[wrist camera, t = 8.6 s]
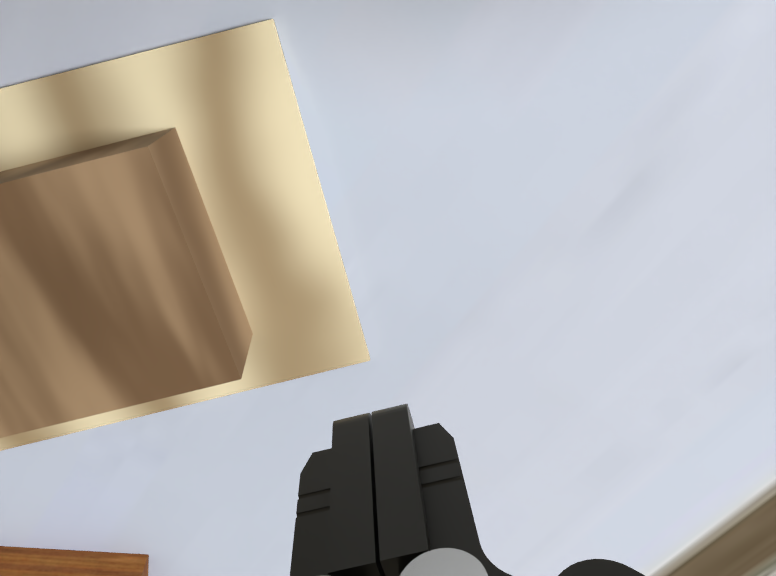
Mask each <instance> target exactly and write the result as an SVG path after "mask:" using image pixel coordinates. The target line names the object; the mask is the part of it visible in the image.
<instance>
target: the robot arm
mask: <svg viewBox="0 0 776 576" xmlns="http://www.w3.org/2000/svg"><path fill="white" fill-rule="evenodd" d="M298 496H299V500H298V502H297V512H296V514H297V518H296V522H295V531H294V541H293V551H292V561H291V570H290V576H511V575H509V574H507V573H505V572H503V571H502V570H500V569H498V568H497V567H496V566H495V565H493V564H492V563H491V562H490V561H489V559H488V558H487V557H486V556H485V554H484V552H483V550H482V548H481V545H480V542H479V538H478V534H477V530H476V526H475V522H474V518H473V514H472V510H471V506H470V502H469V498H468V494H467V490H466V486H465V482H464V478H463V474H462V470H461V466H460V462H459V458H458V454H457V450H456V446H455V442H454V438H453V437H452V436H451V435H450V434H449V433H448V432H447V431H446V430H445V429H444V428H443V427H442V426H441V425H440V424H439V423H437V424H433V425H428V426H424V427H420V428H416V429H415V428H414V425H413V421H412V417H411V414H410V410H409V407H408V404H404V405H400V406H395V407H391V408H387V409H383V410H378V411H374V412H372V415H371V414H370V413H366V414H362V415H358V416H354V417H349V418H345V419H341V420H337V421H334V422H333V434H332V448H331V449H327V450H323V451H318V452H314V453H312V455H311V457H310V458H309V460H308V462H307V463H306V465H305V467H304V469H303V470H302V472H301V474H300V483H299V493H298ZM558 576H645V575H643V574H641V573H639V572H637V571H636V570H634V569H632V568H630V567H628V566H626V565H624V564H621V563H618V562H615V561H611V560H605V559H591V560H584V561H581V562H577V563H575V564H573V565H571V566H569V567H568V568H566V569H565V570H563V571H562V572H561V573H560V574H559V575H558Z"/></svg>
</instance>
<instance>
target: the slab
mask: <svg viewBox="0 0 776 576" xmlns="http://www.w3.org/2000/svg"><path fill="white" fill-rule="evenodd" d="M252 335H253V333H252V330H251V327H250V325H249V322H248V319H247V317H246V314H245V311H244V309H243V306H242V303H241V301H240V298H239V295H238V293H237V290H236V287H235V285H234V282H233V279H232V277H231V274H230V272H229V269H228V266H227V264H226V261H225V258H224V256H223V253H222V250H221V248H220V245H219V242H218V240H217V237H216V234H215V232H214V229H213V226H212V224H211V221H210V218H209V216H208V213H207V210H206V208H205V205H204V202H203V200H202V197H201V194H200V192H199V189H198V186H197V184H196V181H195V178H194V176H193V173H192V170H191V168H190V165H189V162H188V160H187V157H186V155H185V152H184V149H183V147H182V144H181V141H180V139H179V136H178V133H177V131H176V128H171V129H167V130H163V131H159V132H155V133H151V134H147V135H143V136H139V137H135V138H131V139H128V140H124V141H120V142H116V143H112V144H108V145H104V146H100V147H96V148H92V149H88V150H84V151H80V152H76V153H72V154H68V155H64V156H60V157H56V158H52V159H49V160H45V161H41V162H37V163H33V164H29V165H25V166H21V167H17V168H13V169H9V170H5V171H1V172H0V438H3V437H7V436H11V435H15V434H19V433H23V432H28V431H32V430H36V429H40V428H44V427H48V426H52V425H56V424H60V423H64V422H68V421H73V420H77V419H81V418H85V417H89V416H93V415H97V414H101V413H105V412H109V411H113V410H118V409H122V408H126V407H130V406H134V405H138V404H142V403H146V402H150V401H154V400H158V399H163V398H167V397H171V396H175V395H179V394H183V393H187V392H191V391H195V390H199V389H203V388H208V387H212V386H216V385H220V384H224V383H228V382H232V381H236V380H240V379H241V378H242V374H243V371H244V367H245V363H246V359H247V355H248V351H249V347H250V343H251V339H252Z"/></svg>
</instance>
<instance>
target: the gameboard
mask: <svg viewBox="0 0 776 576" xmlns="http://www.w3.org/2000/svg"><path fill="white" fill-rule="evenodd" d="M148 559H149V555H145V554H128V553H110V552H93V551H75V550H58V549H40V548H23V547H5V546H0V576H148Z"/></svg>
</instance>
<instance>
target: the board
mask: <svg viewBox="0 0 776 576" xmlns="http://www.w3.org/2000/svg"><path fill="white" fill-rule="evenodd" d="M171 128H176V131H177V133H178V136H179V139H180V141H181V144H182V147H183V149H184V152H185V155H186V157H187V160H188V162H189V165H190V168H191V170H192V173H193V176H194V178H195V181H196V184H197V186H198V189H199V192H200V194H201V197H202V200H203V202H204V205H205V208H206V210H207V213H208V216H209V218H210V221H211V224H212V226H213V229H214V232H215V234H216V237H217V240H218V242H219V245H220V248H221V250H222V253H223V256H224V258H225V261H226V264H227V266H228V269H229V272H230V274H231V277H232V279H233V282H234V285H235V287H236V290H237V293H238V295H239V298H240V301H241V303H242V306H243V309H244V311H245V314H246V317H247V319H248V322H249V325H250V327H251V330H252V333H253V335H252V339H251V343H250V347H249V351H248V355H247V359H246V363H245V367H244V371H243V374H242V378H241V379H240V380H236V381H232V382H228V383H224V384H220V385H216V386H212V387H208V388H203V389H199V390H195V391H191V392H187V393H183V394H179V395H175V396H171V397H167V398H163V399H158V400H154V401H150V402H146V403H142V404H138V405H134V406H130V407H126V408H122V409H118V410H113V411H109V412H105V413H101V414H97V415H93V416H89V417H85V418H81V419H77V420H73V421H68V422H64V423H60V424H56V425H52V426H48V427H44V428H40V429H36V430H32V431H28V432H23V433H19V434H15V435H11V436H7V437H3V438H0V451H1V450H5V449H9V448H14V447H18V446H22V445H26V444H30V443H34V442H38V441H42V440H46V439H50V438H55V437H59V436H63V435H67V434H71V433H75V432H79V431H83V430H87V429H91V428H96V427H100V426H104V425H108V424H112V423H116V422H120V421H124V420H128V419H132V418H136V417H141V416H145V415H149V414H153V413H157V412H161V411H165V410H169V409H173V408H177V407H182V406H186V405H190V404H194V403H198V402H202V401H206V400H210V399H214V398H218V397H223V396H227V395H231V394H235V393H239V392H243V391H247V390H251V389H255V388H259V387H263V386H268V385H272V384H276V383H280V382H284V381H288V380H292V379H296V378H300V377H304V376H309V375H313V374H317V373H321V372H325V371H329V370H333V369H337V368H341V367H345V366H350V365H354V364H358V363H362V362H366V361H370V356H369V352H368V349H367V345H366V342H365V338H364V335H363V331H362V328H361V324H360V321H359V317H358V314H357V310H356V307H355V303H354V299H353V296H352V292H351V289H350V285H349V282H348V278H347V275H346V271H345V268H344V264H343V261H342V257H341V254H340V250H339V247H338V243H337V240H336V236H335V233H334V229H333V226H332V222H331V219H330V215H329V212H328V208H327V205H326V201H325V198H324V194H323V191H322V187H321V184H320V180H319V177H318V173H317V170H316V166H315V163H314V159H313V156H312V152H311V149H310V145H309V142H308V138H307V135H306V131H305V128H304V124H303V121H302V117H301V114H300V110H299V107H298V103H297V100H296V96H295V93H294V89H293V86H292V82H291V79H290V75H289V72H288V68H287V65H286V61H285V58H284V54H283V51H282V47H281V44H280V40H279V37H278V33H277V30H276V26H275V23H274V19H270V20H266V21H262V22H258V23H255V24H251V25H247V26H243V27H239V28H235V29H231V30H227V31H223V32H219V33H215V34H212V35H208V36H204V37H200V38H196V39H192V40H188V41H184V42H180V43H176V44H172V45H169V46H165V47H161V48H157V49H153V50H149V51H145V52H141V53H137V54H133V55H130V56H126V57H122V58H118V59H114V60H110V61H106V62H102V63H98V64H94V65H90V66H87V67H83V68H79V69H75V70H71V71H67V72H63V73H59V74H55V75H51V76H47V77H44V78H40V79H36V80H32V81H28V82H24V83H20V84H16V85H12V86H8V87H4V88H1V89H0V172H1V171H5V170H9V169H13V168H17V167H21V166H25V165H29V164H33V163H37V162H41V161H45V160H49V159H52V158H56V157H60V156H64V155H68V154H72V153H76V152H80V151H84V150H88V149H92V148H96V147H100V146H104V145H108V144H112V143H116V142H120V141H124V140H128V139H131V138H135V137H139V136H143V135H147V134H151V133H155V132H159V131H163V130H167V129H171Z"/></svg>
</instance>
